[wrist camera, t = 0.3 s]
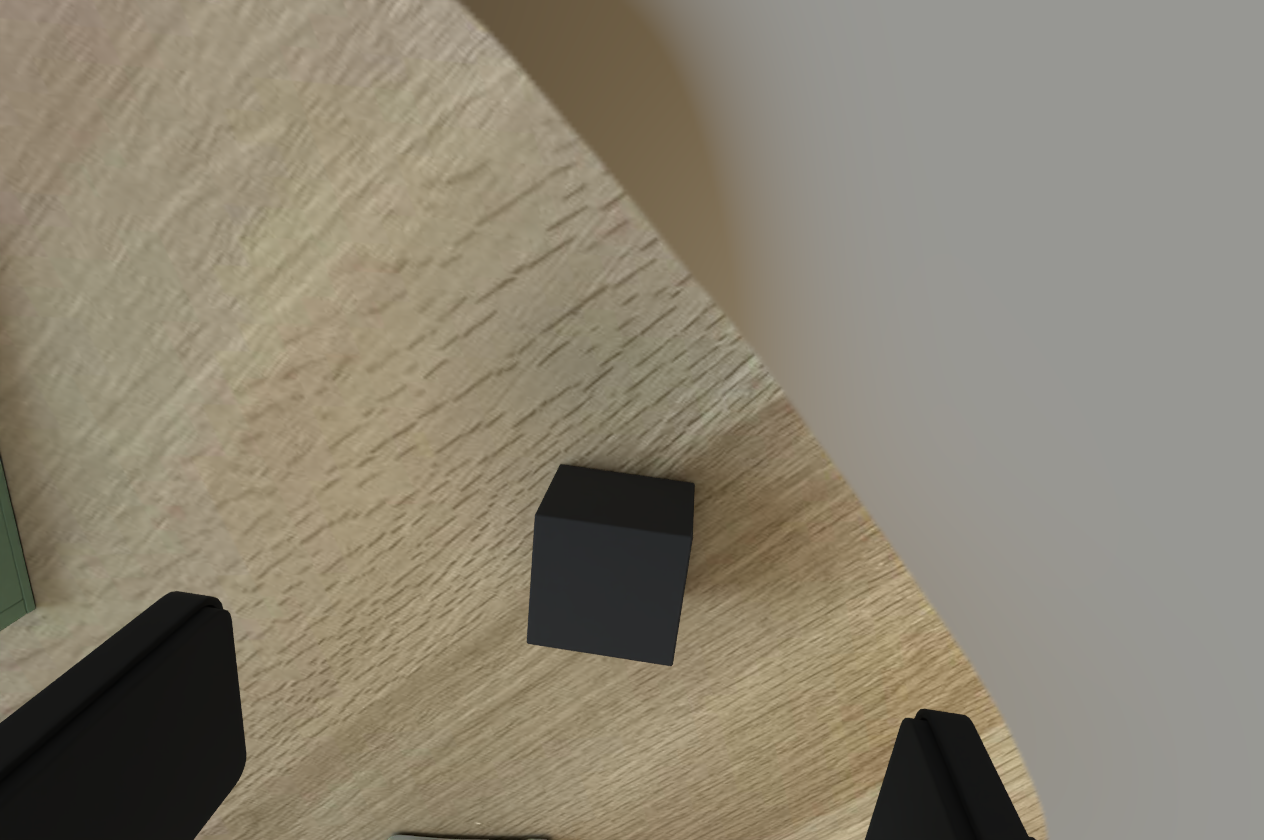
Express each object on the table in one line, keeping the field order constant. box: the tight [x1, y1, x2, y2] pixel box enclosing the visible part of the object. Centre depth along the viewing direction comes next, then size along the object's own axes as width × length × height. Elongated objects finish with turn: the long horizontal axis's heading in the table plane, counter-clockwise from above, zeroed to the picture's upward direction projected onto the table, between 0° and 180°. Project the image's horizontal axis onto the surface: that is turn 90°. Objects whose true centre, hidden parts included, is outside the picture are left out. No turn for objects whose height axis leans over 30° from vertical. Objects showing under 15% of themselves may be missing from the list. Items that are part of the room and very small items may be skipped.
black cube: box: [527, 464, 695, 666], centre depth 24 cm, size 5×5×4 cm
